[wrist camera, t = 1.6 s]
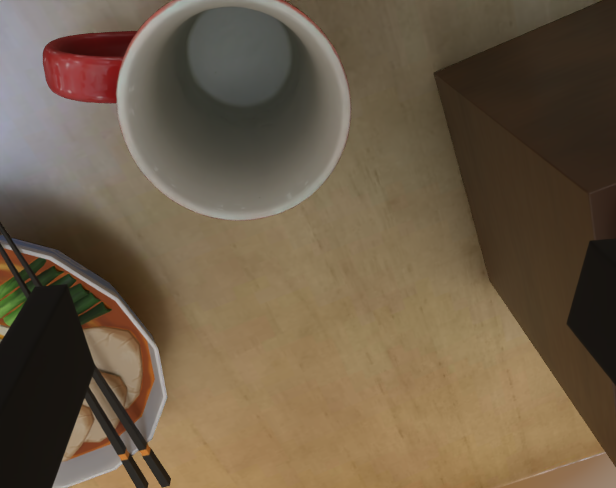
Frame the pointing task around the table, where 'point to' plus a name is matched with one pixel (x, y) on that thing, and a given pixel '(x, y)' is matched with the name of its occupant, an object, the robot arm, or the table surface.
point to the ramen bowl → (108, 361)
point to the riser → (543, 181)
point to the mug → (218, 101)
